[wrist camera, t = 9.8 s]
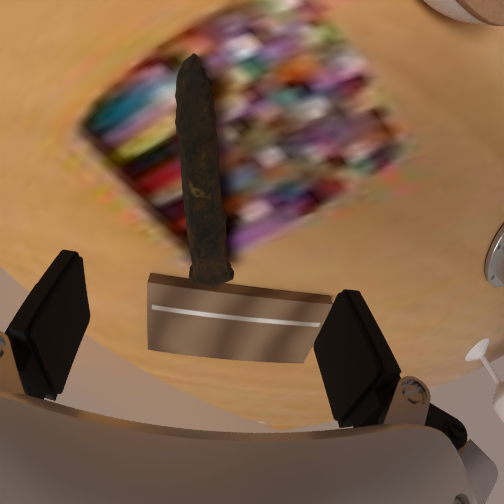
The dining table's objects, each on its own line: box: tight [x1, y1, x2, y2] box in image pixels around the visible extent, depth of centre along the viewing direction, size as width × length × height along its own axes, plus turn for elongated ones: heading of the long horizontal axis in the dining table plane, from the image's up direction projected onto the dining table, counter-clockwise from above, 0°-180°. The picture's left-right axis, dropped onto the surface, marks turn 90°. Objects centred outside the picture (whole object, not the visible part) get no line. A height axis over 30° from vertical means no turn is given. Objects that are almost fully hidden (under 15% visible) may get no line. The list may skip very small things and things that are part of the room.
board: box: [147, 273, 333, 363], centre depth 32 cm, size 19×10×2 cm, turn 78°
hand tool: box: [175, 53, 234, 287], centre depth 22 cm, size 19×4×5 cm, turn 179°
